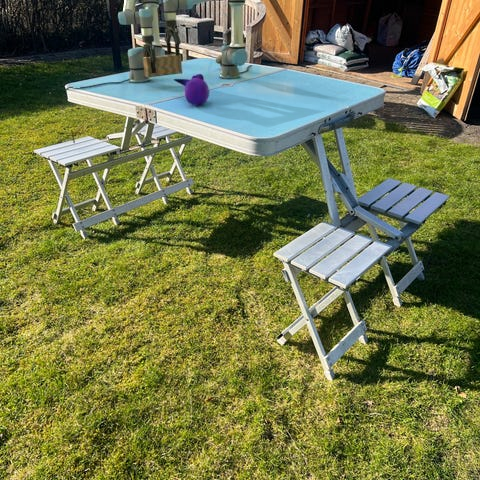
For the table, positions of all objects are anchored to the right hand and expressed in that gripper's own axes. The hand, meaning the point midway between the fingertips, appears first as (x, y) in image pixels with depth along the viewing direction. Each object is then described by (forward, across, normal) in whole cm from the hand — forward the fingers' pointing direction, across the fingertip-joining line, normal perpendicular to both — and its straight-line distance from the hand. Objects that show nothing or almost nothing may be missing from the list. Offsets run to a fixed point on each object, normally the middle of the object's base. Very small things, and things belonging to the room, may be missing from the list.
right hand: (173, 54), depth 308 cm
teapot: (+21, +40, -66) cm, 80 cm away
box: (+12, 0, +8) cm, 15 cm away
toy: (+22, -50, +12) cm, 56 cm away
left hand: (+10, 0, +17) cm, 20 cm away
